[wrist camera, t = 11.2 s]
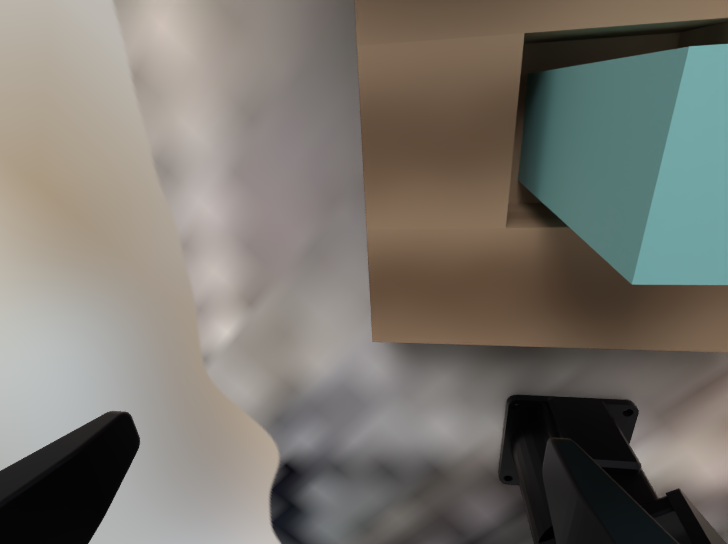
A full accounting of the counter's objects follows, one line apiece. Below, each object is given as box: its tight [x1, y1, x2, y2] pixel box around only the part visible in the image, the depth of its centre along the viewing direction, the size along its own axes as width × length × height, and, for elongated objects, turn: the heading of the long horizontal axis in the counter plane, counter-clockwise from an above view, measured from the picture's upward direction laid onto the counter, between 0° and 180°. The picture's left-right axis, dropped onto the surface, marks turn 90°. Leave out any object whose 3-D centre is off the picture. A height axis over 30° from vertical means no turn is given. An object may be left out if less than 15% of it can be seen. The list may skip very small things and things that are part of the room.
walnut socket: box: [354, 0, 728, 353], centre depth 14 cm, size 16×16×4 cm
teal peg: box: [518, 44, 728, 285], centre depth 11 cm, size 4×4×10 cm
